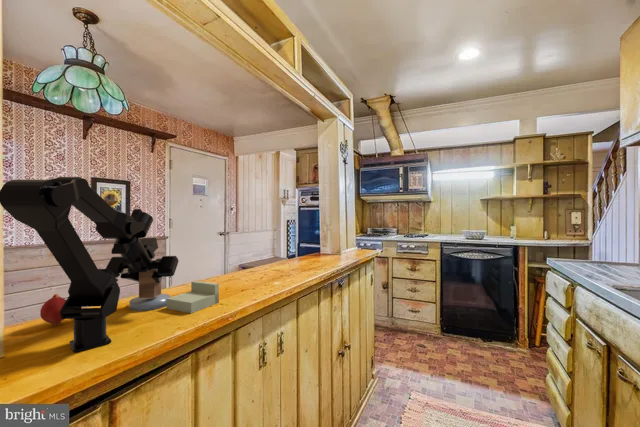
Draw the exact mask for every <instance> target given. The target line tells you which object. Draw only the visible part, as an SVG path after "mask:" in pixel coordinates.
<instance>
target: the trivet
mask: <svg viewBox="0 0 640 427" xmlns="http://www.w3.org/2000/svg"><path fill="white" fill-rule="evenodd" d="M167 298H171V295H170V294H167V293H161V294H160V295H158V296H156V297H155V298H139V296H136V297H134V298H131V299H130V300H128V301H129V310H130V311H133V312H134V311H135V312H148V311H154V310H159V309H162V308H164V307H165V308H166V299H167Z"/></svg>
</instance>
